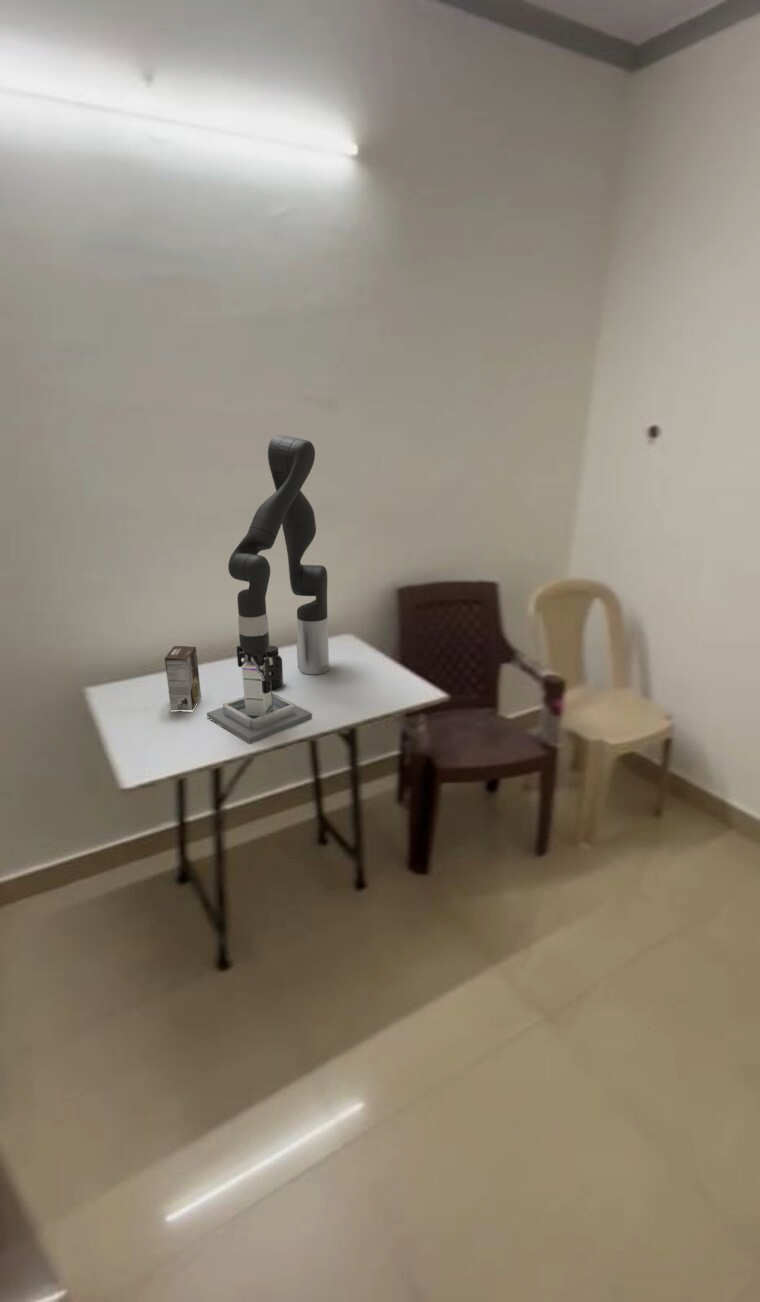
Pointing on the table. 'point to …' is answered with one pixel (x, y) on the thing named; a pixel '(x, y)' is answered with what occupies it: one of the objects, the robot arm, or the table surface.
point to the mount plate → (264, 731)
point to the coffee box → (183, 678)
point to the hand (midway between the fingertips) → (257, 687)
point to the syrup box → (255, 691)
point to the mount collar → (263, 720)
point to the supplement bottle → (276, 667)
